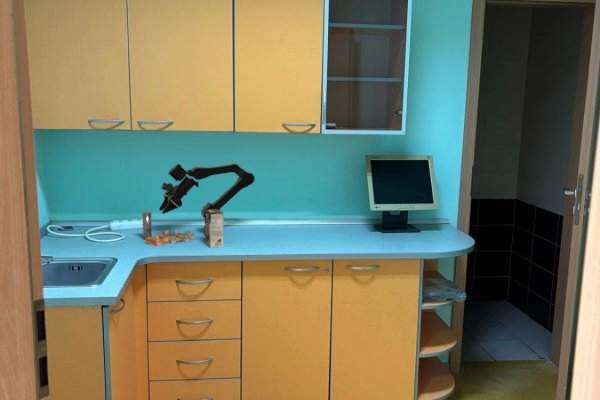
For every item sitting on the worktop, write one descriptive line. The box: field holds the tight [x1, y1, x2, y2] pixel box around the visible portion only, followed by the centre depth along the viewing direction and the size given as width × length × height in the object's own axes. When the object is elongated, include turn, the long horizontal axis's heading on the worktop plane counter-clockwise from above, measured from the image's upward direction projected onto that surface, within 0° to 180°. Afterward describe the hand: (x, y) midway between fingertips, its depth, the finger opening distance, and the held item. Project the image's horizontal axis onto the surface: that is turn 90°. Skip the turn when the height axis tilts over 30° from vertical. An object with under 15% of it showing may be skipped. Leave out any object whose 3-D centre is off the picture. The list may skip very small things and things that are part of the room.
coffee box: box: [204, 209, 224, 249], centre depth 266 cm, size 9×6×16 cm
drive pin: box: [141, 211, 153, 241], centre depth 278 cm, size 4×4×13 cm
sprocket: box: [144, 229, 195, 247], centre depth 277 cm, size 23×17×3 cm
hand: (160, 211), depth 280 cm, fingers open, 9 cm apart
